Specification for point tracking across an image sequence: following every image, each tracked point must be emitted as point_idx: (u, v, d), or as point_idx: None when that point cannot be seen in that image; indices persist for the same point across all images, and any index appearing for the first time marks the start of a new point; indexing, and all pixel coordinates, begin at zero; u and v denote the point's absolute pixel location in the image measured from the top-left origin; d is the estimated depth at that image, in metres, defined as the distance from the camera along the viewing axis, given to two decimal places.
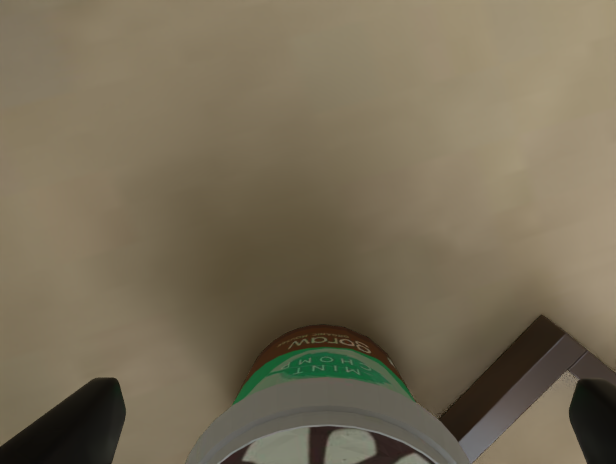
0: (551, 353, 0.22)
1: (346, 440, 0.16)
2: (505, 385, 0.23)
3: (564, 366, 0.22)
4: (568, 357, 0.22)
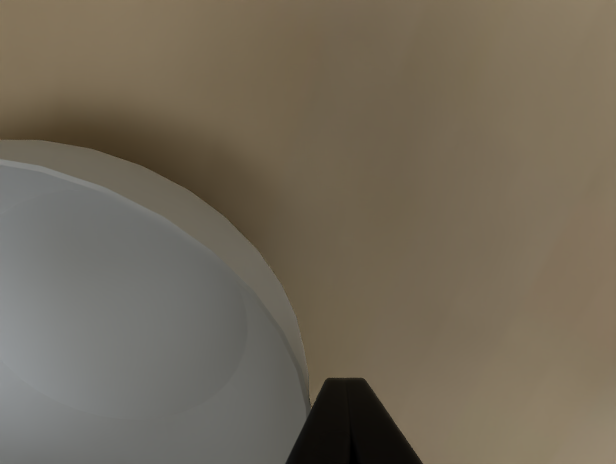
0: None
1: None
2: None
3: None
4: None
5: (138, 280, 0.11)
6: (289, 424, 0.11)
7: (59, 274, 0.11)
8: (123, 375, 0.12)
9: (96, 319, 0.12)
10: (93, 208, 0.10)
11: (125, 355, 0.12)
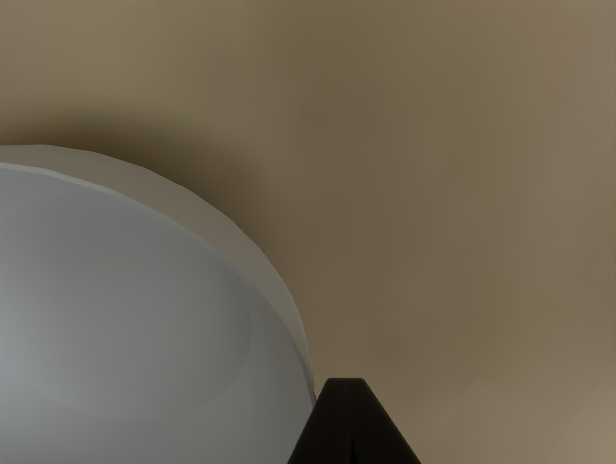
0: None
1: None
2: None
3: None
4: None
5: (142, 282, 0.11)
6: (295, 421, 0.11)
7: (64, 278, 0.11)
8: (129, 377, 0.13)
9: (101, 322, 0.12)
10: (97, 211, 0.10)
11: (130, 357, 0.12)
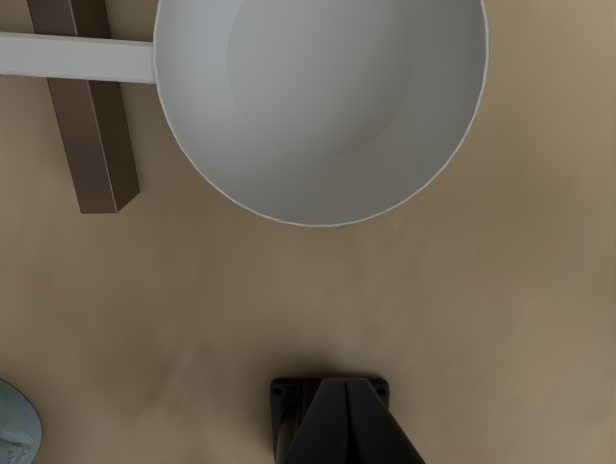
0: None
1: None
2: None
3: None
4: None
5: (343, 32, 0.17)
6: (449, 120, 0.16)
7: (291, 29, 0.17)
8: (319, 117, 0.18)
9: (309, 67, 0.17)
10: None
11: (323, 98, 0.18)
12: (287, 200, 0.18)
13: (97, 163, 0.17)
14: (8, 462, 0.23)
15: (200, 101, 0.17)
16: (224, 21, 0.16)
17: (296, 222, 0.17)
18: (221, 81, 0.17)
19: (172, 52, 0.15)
